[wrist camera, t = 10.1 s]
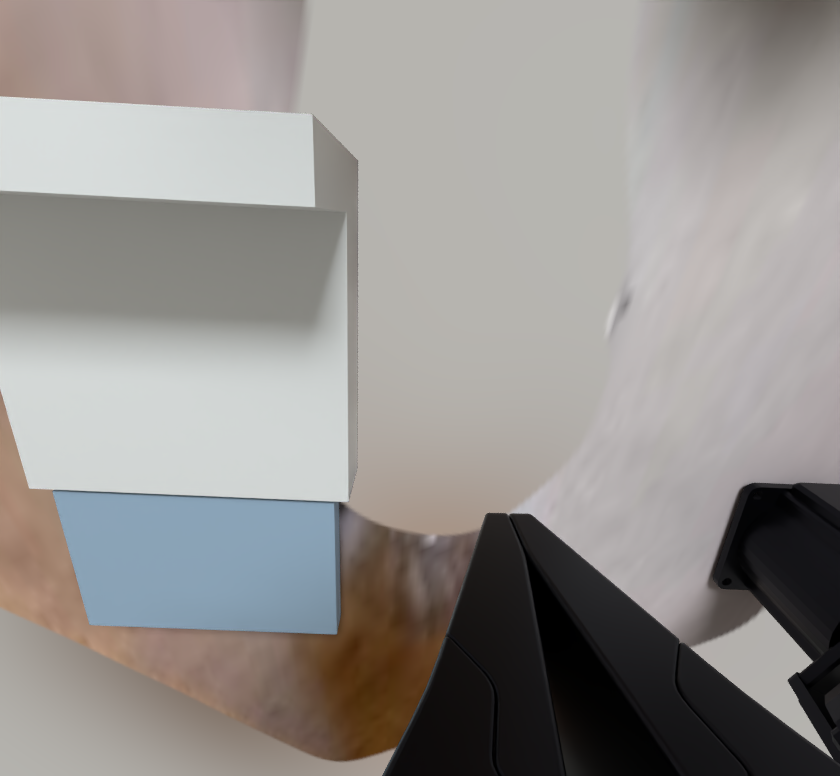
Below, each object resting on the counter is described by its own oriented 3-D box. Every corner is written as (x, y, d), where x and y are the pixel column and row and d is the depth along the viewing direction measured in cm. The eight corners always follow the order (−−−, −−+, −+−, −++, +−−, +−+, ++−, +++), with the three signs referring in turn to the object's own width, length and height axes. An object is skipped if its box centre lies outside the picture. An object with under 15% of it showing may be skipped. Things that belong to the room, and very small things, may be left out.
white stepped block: (357, 467, 23) (326, 588, 15) (78, 455, 22) (-94, 571, 15) (357, 160, 18) (312, 114, 10) (2, 140, 18) (-308, 79, 10)
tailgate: (342, 476, 22) (343, 600, 25) (86, 465, 22) (117, 591, 25) (334, 503, 20) (336, 634, 23) (52, 491, 20) (89, 625, 23)
